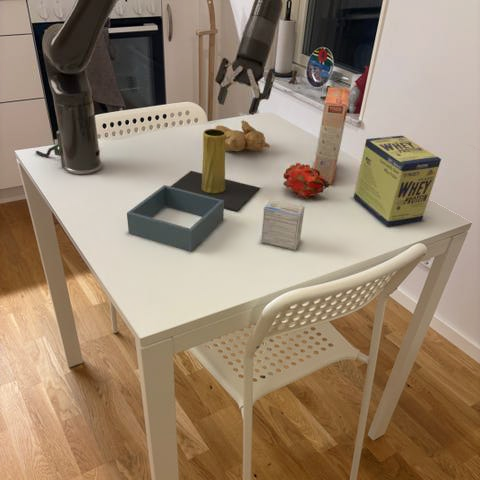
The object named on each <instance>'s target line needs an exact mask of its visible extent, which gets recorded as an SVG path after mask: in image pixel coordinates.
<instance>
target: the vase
mask: <svg viewBox="0 0 480 480" xmlns="http://www.w3.org/2000/svg"><path fill="white" fill-rule="evenodd" d="M202 134H203V135H202V137H203V138H202V139H203V141H202V142H203V143H202V169H201V173H202V185H201V188H202V190H203V191H204V192H207V193H211V194H218V193H222V192H223V191H225V188H226V187H225V179H226V151H225V138H226V133H225V131H223V130H220V129H215V128H208V129H204V131H203V133H202Z"/></svg>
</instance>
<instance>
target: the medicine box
mask: <svg viewBox="0 0 480 480" xmlns="http://www.w3.org/2000/svg"><path fill="white" fill-rule="evenodd" d="M304 213H305V206H304V205H300V204H295V203H290V202H286V201H281V200H275V199H269V200H268V202H267V203H266V204H265V205H264V207H263V214H262V226H261V237H260V238H261V239H260V243H261V244H266V245H272V246H274V247H275V246H276V247H280V248H284V249H290V250H293V251H296V249H297V247H298V246H299V243H300V241H301V236H302V228H303V223H304V222H303V221H304V215H305V214H304Z"/></svg>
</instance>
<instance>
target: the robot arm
mask: <svg viewBox="0 0 480 480" xmlns="http://www.w3.org/2000/svg"><path fill="white" fill-rule="evenodd" d="M118 1H119V0H75V1H74V3H73V6H72V9H71V10H70V12H69V13H68V15H67V17H66V19H65V21H64V22H63V23H55V24H52V25H50V26H49V27H48V28H47V29H46V30H45V32H44V33H43V36H42V42H41V43H42V44H41V45H42V53H43V59H44V65H45V70H46V74H47V79H48V84H49V88H50V91H51V94H52V98H53V104H54V110H55V116H56V121H57V122H56V123H57V129H58V130H57V131H56V133H55V134H56V140H57V144H55V145H53V146H51V147H49V148H48V149H47V151H46V153H44V152H41V151H40V150H36V151H35V154H36V155H39V156H41V157H44V158H46V157H49V156H50V155H51V152H52V151H53V152H54V155H55V156H59V157H60V163H61V168H62V169H65V171H66V172H68V173H70V174H74V175H89V174H93V173H97V172H99V170H101V168H102V161H101V147H100V146H99V145H100V144H99V138H98V130H97V122H96V121H97V120H96V113H95V106H94V99H93V91H92V88H91V84H90V82H89V79H88V74H87V69H86V68H87V66H88V65H89V63H90V61H91V58H92V56H93V53H94V51H95V48H96V46H97V43H98V40H99V38H100V35H101V33H102V31H103V29H104V26H105V24H106V22H107V21H108V19H109V17H110V16H111V14H112V12H113V10H114V8H115V7H116V5H117V3H118ZM283 8H284V2H283V0H254V1H253V4H252V6H251V9H250V14H249V17H248V19H247V21H246V24H245V26H244V30H243V32H242V36H241V38H240V42H239V46H238V49H237V52H236V56H235V59H234V60H233V61H231V60H230V59H228V58H226V57H223V58H222V59H221V63H220V66H219V67H218V71H217V73H216V76H215V80H214V82H215V83H217V84H218V85H219V87H220V89H219V92H218V96H217V101H218V104H219V105H222V106H224V105H225V102H226V98H227V95H228V92H229V90H228V89H229V88H230V87H232V86H233V85H235V84H237V83H238V84H239V85H240V84H241V85H245V86H246V87H250V88H251V89H252V92H253V95H254V97H252V100H251V103H250V107H249V110H248V114H249V115H252V116H254V114H257V112H258V109H259V106H260V103H261V101H262V100H266V101H267V100H270V96H271V93H272V89H273V86H274V82H275V78H276V76H275V74H274V73H273V72H272V71H269V72H267V71H265V67H266V64H267V62H268V59H269V57H270V56H269V55H270V53H271V49H272V47H273V43H274V40H275V37H276V32H277V28H278V26H279V25H278V24H279V22H280V18H281V15H282V12H283ZM230 69H232V72H231V73H230V74H228V76H227V72H228V71H229V70H230ZM226 76H227V77H226ZM261 79H263V80H264V82H265V83H264V87H263V90H262V92H261V88H260V84H259V81H260V80H261Z"/></svg>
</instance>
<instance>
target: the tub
mask: <svg viewBox="0 0 480 480" xmlns="http://www.w3.org/2000/svg"><path fill="white" fill-rule="evenodd" d="M166 207H168V208H171V209H174V210H178V211H182V212H186V213H190V214H193V215H197V216H200V219H198V221H196V222H195V223H194V224H193V225H192V226H191V227H190V228H189V227H185V226H182V225H179V224H175V223H172V222H168V221H165V220H161V219H157V218H154V217H155V216H156V215H158V214H159V213H160V212H161V211H162V210H164V209H165V208H166ZM224 209H225V208H224V200H220V199H216V198H212V197H209V196H205V195H201V194H197V193H193V192H189V191H185V190H181V189H177V188H174V187H170V185H165V184H163V185H162V186H161V187H159V188H158V189H157V190H155V191H154V192H152V193H151V194H150V195H149V196H148V197H146V198H145V199H143V200H142V201H140V202H139V203H138V204H137V205H136V206H134V207H133V208H132V209H129V210H128V212H126V219H127V221H126V222H127V229H128V234H131V235H133V236H137V237H140V238H144V239H147V240H151V241H154V242H157V243H161V244H164V245H167V246H170V247H175V248H177V249H181V250H184V251H188V252H193V251H194V250H195V249H196V248H197V247H198V246H199V245H200V244H201V243H202V242H203V241H204V240H205V239H206V238H207V237H208V236H209V235H210V234H211V233H212V232H213V231H214V230H216V229H217V227H218V226H219V225H220V224H221V223H222V222H223V221H224V214H225V211H224Z"/></svg>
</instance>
